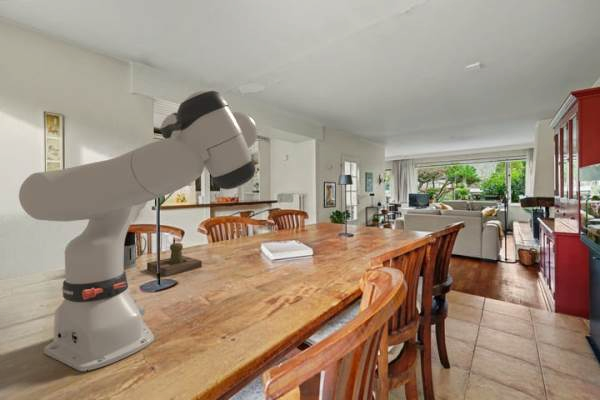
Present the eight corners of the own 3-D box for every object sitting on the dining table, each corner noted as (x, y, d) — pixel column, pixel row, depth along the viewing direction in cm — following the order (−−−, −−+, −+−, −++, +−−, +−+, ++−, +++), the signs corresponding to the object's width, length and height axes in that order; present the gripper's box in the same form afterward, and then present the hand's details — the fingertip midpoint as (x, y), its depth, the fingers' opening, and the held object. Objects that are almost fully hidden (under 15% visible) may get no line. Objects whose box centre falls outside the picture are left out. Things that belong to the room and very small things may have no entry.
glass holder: (124, 263, 125) (123, 231, 124) (152, 264, 124) (152, 232, 123) (109, 268, 116) (108, 234, 116) (139, 270, 115) (139, 235, 114)
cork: (186, 267, 119) (186, 243, 118) (172, 270, 114) (172, 245, 114) (180, 265, 123) (180, 241, 123) (166, 267, 119) (166, 243, 118)
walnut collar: (201, 267, 120) (201, 260, 120) (166, 276, 107) (166, 269, 106) (181, 261, 129) (181, 255, 129) (147, 269, 116) (147, 262, 116)
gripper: (194, 169, 96) (171, 198, 97) (188, 153, 113) (168, 179, 113) (178, 158, 92) (154, 189, 93) (174, 144, 109) (154, 171, 109)
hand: (162, 183), depth 103 cm, fingers open, 8 cm apart
